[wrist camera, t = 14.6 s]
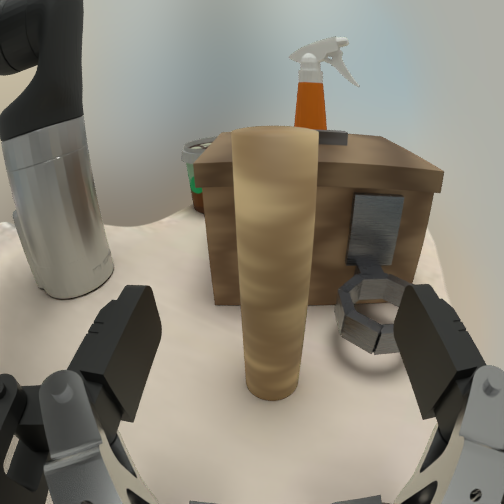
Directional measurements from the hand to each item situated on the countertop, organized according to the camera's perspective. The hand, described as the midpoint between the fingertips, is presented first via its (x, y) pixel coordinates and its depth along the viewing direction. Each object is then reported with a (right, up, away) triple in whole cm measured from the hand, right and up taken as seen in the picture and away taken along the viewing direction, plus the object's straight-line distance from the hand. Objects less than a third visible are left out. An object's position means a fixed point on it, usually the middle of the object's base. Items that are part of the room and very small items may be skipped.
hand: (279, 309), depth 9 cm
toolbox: (+5, +1, +24) cm, 24 cm away
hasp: (+9, -3, +13) cm, 16 cm away
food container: (-8, +9, +39) cm, 41 cm away
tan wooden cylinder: (+1, -7, +11) cm, 13 cm away
